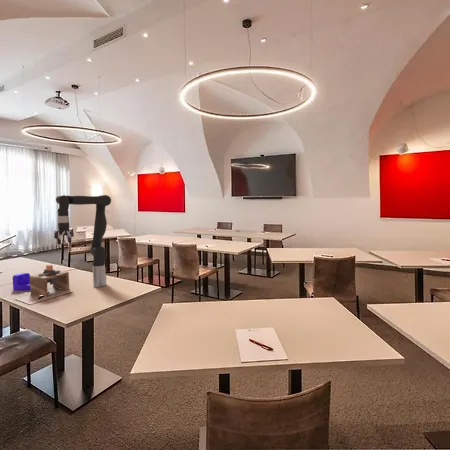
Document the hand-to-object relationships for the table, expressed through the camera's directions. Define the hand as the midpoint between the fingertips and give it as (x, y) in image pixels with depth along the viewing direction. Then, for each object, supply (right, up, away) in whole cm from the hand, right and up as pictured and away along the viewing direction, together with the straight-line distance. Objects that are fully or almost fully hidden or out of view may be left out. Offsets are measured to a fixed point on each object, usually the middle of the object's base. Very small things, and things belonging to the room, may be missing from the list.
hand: (64, 243), depth 219 cm
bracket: (-36, -37, +13) cm, 54 cm away
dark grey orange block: (-14, -31, +5) cm, 35 cm away
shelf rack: (-14, -38, +6) cm, 41 cm away
